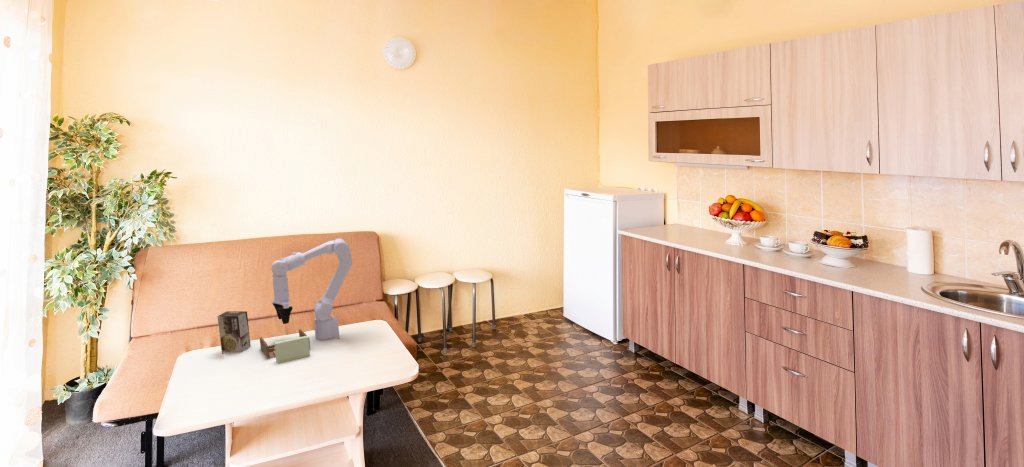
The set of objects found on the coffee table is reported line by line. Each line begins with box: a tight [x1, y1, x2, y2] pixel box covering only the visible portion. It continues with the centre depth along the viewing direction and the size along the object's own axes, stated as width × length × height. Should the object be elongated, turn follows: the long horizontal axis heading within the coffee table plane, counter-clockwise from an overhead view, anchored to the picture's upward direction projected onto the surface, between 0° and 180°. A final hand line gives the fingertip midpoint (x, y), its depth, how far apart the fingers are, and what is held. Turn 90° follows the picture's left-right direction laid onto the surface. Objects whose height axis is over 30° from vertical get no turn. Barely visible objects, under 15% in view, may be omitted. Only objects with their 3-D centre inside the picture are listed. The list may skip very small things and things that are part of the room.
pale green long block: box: [274, 335, 311, 364], centre depth 204 cm, size 12×2×8 cm, turn 125°
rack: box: [259, 328, 311, 360], centre depth 214 cm, size 16×13×6 cm
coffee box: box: [217, 310, 252, 355], centre depth 215 cm, size 9×6×16 cm
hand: (283, 321), depth 221 cm, fingers open, 7 cm apart
